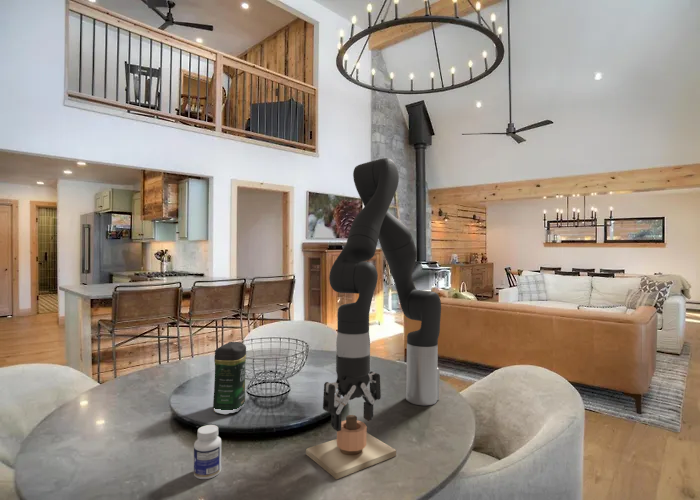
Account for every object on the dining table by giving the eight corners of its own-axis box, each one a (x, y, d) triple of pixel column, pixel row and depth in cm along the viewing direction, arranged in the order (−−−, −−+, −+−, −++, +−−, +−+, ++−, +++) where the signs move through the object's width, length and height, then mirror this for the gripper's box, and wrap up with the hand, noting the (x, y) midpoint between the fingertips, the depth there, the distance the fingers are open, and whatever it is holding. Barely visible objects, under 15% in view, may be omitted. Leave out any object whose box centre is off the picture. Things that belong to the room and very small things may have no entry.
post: (353, 442, 93) (353, 410, 93) (366, 450, 89) (367, 418, 89) (335, 448, 90) (335, 415, 90) (348, 457, 86) (349, 423, 86)
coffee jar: (237, 416, 109) (238, 348, 109) (209, 415, 109) (210, 347, 109) (249, 403, 118) (249, 340, 118) (222, 402, 119) (223, 339, 119)
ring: (354, 434, 94) (354, 417, 94) (371, 445, 89) (372, 427, 89) (331, 442, 90) (331, 424, 90) (348, 454, 85) (348, 435, 85)
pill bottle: (198, 466, 84) (198, 423, 84) (223, 465, 84) (224, 422, 84) (190, 480, 79) (190, 435, 79) (217, 479, 79) (218, 434, 79)
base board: (362, 435, 99) (362, 430, 99) (396, 455, 89) (396, 450, 89) (305, 454, 89) (306, 448, 89) (336, 479, 80) (336, 473, 80)
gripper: (367, 343, 96) (367, 411, 97) (316, 352, 88) (316, 426, 88) (388, 350, 90) (388, 422, 90) (336, 360, 82) (335, 440, 82)
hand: (352, 424), depth 89 cm, fingers open, 8 cm apart
